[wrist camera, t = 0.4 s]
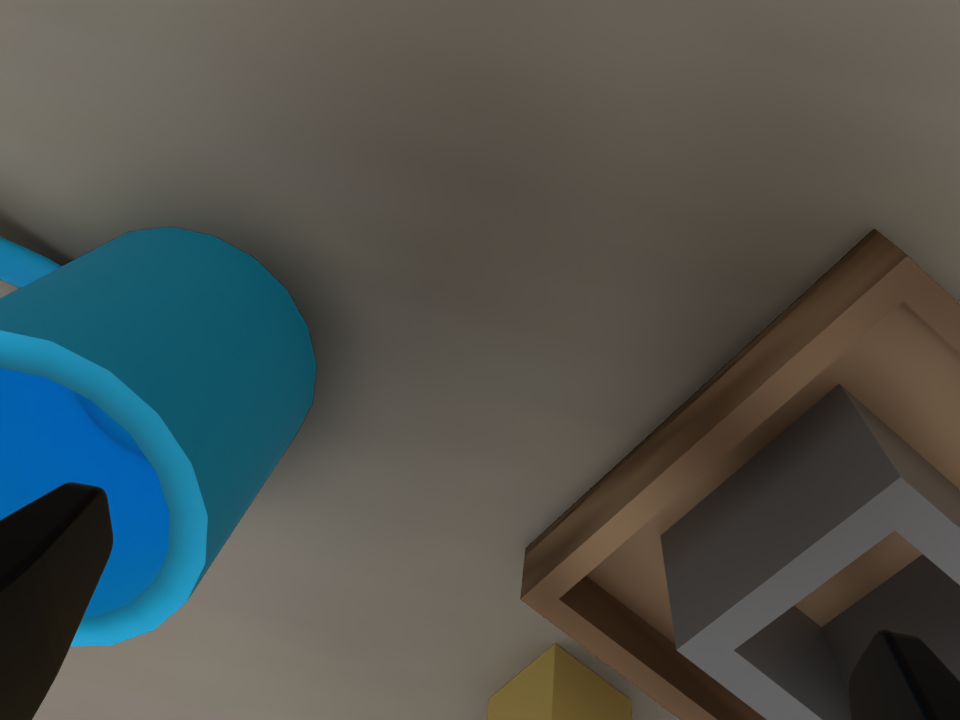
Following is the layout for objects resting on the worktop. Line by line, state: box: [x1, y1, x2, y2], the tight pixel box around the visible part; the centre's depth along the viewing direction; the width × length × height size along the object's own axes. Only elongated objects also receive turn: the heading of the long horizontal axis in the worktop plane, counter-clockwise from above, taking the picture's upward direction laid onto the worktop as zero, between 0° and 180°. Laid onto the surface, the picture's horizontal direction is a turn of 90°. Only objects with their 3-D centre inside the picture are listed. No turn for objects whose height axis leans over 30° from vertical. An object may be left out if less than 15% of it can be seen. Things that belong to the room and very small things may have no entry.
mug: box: [0, 227, 316, 647], centre depth 22 cm, size 12×8×8 cm
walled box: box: [520, 229, 960, 720], centre depth 25 cm, size 14×12×2 cm
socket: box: [660, 384, 960, 720], centre depth 23 cm, size 7×7×5 cm
